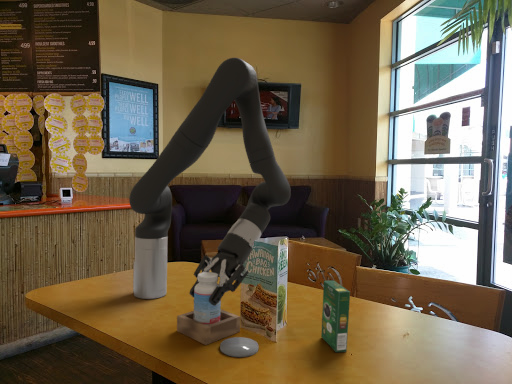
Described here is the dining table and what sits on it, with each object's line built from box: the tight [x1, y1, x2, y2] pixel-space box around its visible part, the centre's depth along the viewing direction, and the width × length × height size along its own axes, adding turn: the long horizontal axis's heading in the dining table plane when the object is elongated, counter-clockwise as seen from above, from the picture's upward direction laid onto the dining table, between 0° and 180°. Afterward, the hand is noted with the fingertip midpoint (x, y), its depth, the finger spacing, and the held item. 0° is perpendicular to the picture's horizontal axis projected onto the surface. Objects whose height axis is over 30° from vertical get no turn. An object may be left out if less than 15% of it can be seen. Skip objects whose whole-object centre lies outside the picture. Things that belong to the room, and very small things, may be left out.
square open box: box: [176, 309, 241, 346], centre depth 89 cm, size 10×10×4 cm
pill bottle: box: [193, 271, 222, 326], centre depth 88 cm, size 6×6×11 cm
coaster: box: [219, 336, 259, 358], centre depth 81 cm, size 8×8×1 cm
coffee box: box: [320, 280, 351, 353], centre depth 84 cm, size 8×3×13 cm, turn 13°
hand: (201, 299), depth 87 cm, fingers closed on pill bottle, 6 cm apart
